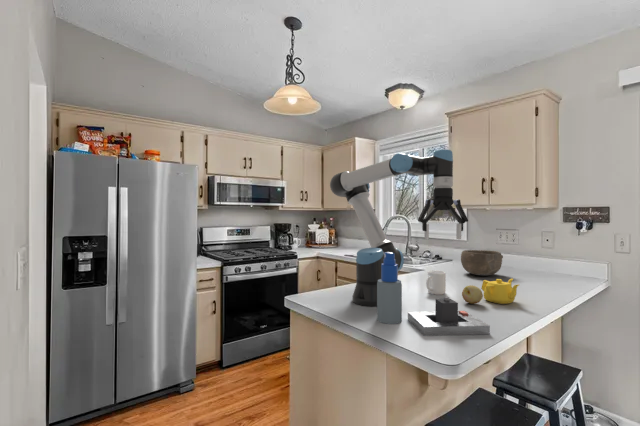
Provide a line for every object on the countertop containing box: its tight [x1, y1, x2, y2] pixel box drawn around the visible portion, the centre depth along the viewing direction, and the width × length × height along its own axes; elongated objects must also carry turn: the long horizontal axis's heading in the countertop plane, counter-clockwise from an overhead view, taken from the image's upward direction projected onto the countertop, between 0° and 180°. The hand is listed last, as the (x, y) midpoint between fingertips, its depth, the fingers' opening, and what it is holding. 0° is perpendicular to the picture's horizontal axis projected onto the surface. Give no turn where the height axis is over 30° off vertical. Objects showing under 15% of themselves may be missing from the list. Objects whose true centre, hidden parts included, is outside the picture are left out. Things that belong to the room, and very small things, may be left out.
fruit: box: [461, 284, 484, 305], centre depth 145 cm, size 8×8×8 cm
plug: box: [434, 296, 459, 323], centre depth 116 cm, size 6×6×10 cm
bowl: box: [460, 249, 504, 276], centre depth 210 cm, size 24×24×15 cm
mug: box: [425, 270, 447, 296], centre depth 163 cm, size 12×8×10 cm
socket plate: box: [407, 310, 491, 337], centre depth 116 cm, size 22×16×4 cm
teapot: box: [480, 278, 520, 305], centre depth 149 cm, size 14×13×10 cm
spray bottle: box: [376, 252, 403, 325], centre depth 123 cm, size 9×9×25 cm
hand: (442, 239), depth 137 cm, fingers open, 13 cm apart
